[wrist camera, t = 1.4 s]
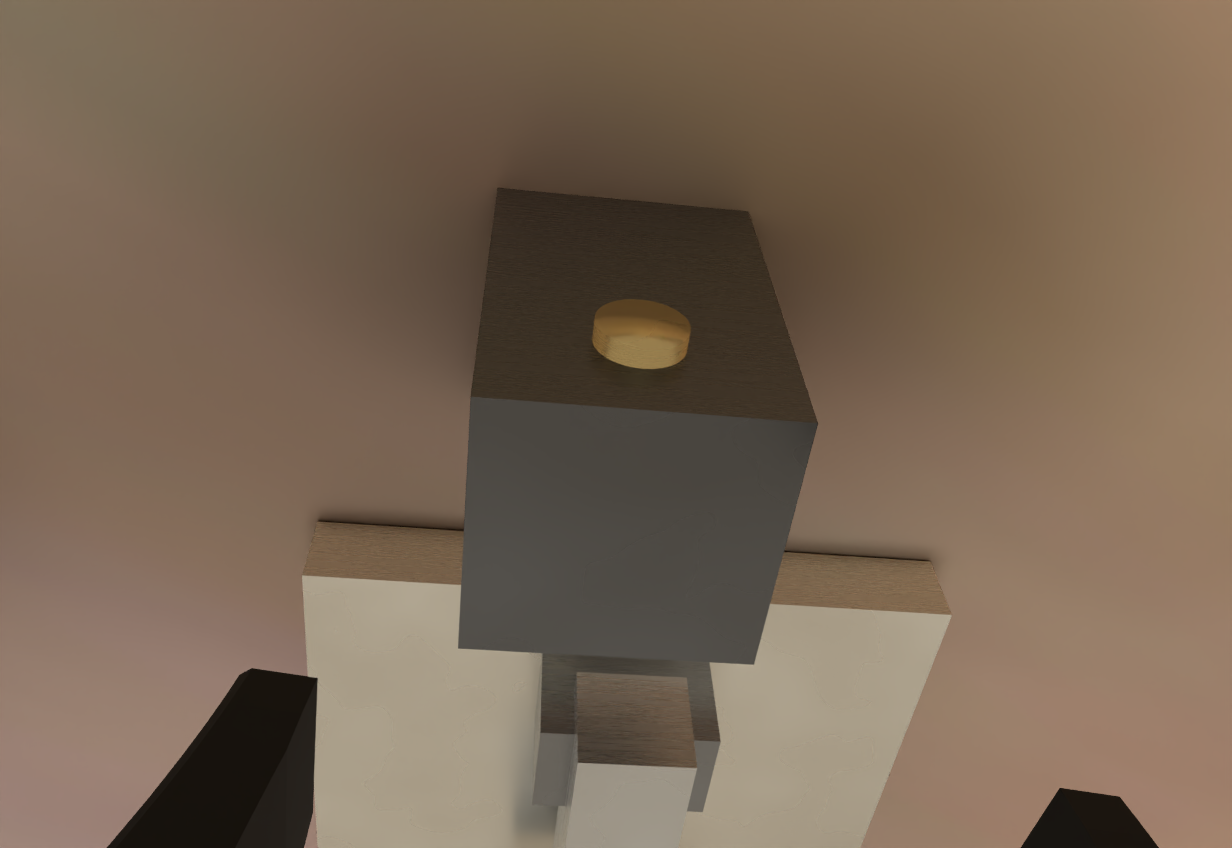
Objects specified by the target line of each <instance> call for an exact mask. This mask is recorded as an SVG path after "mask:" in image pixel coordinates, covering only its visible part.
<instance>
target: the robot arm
mask: <svg viewBox="0 0 1232 848" xmlns="http://www.w3.org/2000/svg"><path fill="white" fill-rule="evenodd" d="M317 684H318V678H314V677H307V676H300V675H294V674H287V673H280V672H273V671H267V670H260V669H253V668H252V669H250V670H248V671H246V672H244V673H242V674H240V675H239V677H238V678H237V680H236V681H235V683H234V684H233V686H232V687H231V689H230V690H229V692H228V693H227V695H226V696H225V698H224V699H223V700H222V702H221V703H220V705H219V706H218V708H217V709H216V710H215V712H214V713H213V715H212V716H211V717H210V719H209V720H208V722H207V723H206V724H205V726H204V727H203V729H202V730H201V731H200V733H199V734H198V735H197V737H196V738H195V739H194V741H193V742H192V743H191V745H190V746H189V747H188V749H187V750H186V751H185V753H184V754H183V755H182V757H181V758H180V759H179V760H178V762H177V763H176V764H175V765H174V767H173V768H172V769H171V771H170V772H169V773H168V774H167V776H166V777H165V778H164V779H163V781H162V782H161V783H160V784H159V786H158V787H157V788H156V790H155V791H154V792H153V793H152V795H151V796H150V797H149V798H148V800H147V801H146V802H145V803H144V804H143V806H142V807H141V808H140V809H139V810H138V811H137V813H136V814H135V815H134V816H133V817H132V819H131V820H130V821H129V822H128V823H127V824H126V826H125V827H124V828H123V829H122V830H121V832H120V833H119V834H118V835H117V836H116V838H115V839H114V840H113V841H112V842H111V843H110V845H109V846H108V847H107V848H304V845H305V841H306V837H307V833H308V829H309V825H310V821H311V818H312V814H313V792H314V765H315V738H316V711H317ZM1021 848H1159V847H1158V846H1157V845H1156V843H1155V842H1154V841H1153V839H1152V838H1151V837H1150V835H1149V834H1148V833H1147V832H1146V830H1145V829H1144V828H1143V826H1142V825H1141V824H1140V822H1139V821H1138V820H1137V818H1136V817H1135V816H1134V815H1133V813H1132V812H1131V811H1130V809H1129V808H1128V807H1127V806H1126V804H1125V803H1124V802H1123V800H1122V799H1121V798H1120V797H1118V796H1111V795H1104V794H1097V793H1091V792H1084V791H1077V790H1070V789H1064V788H1060V789H1059V790H1058V792H1057V793H1056V795H1055V796H1054V798H1053V799H1052V801H1051V802H1050V804H1049V805H1048V807H1047V808H1046V810H1045V811H1044V813H1043V815H1042V816H1041V818H1040V819H1039V821H1038V822H1037V824H1036V825H1035V827H1034V828H1033V830H1032V831H1031V833H1030V834H1029V836H1028V837H1027V839H1026V841H1025V842H1024V844H1023V845H1022V847H1021Z"/></svg>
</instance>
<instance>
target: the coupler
mask: <svg viewBox="0 0 1232 848" xmlns="http://www.w3.org/2000/svg"><path fill="white" fill-rule="evenodd" d="M817 425H818V422H817V419H816V416H815V413H814V410H813V407H812V404H811V401H810V398H809V395H808V391H807V388H806V385H805V382H804V379H803V376H802V373H801V370H800V367H799V364H798V361H797V358H796V355H795V352H794V349H793V346H792V343H791V340H790V337H789V334H788V331H787V328H786V325H785V322H784V319H783V316H782V313H781V310H780V307H779V304H778V301H777V298H776V294H775V291H774V288H773V285H772V282H771V279H770V276H769V273H768V270H767V267H766V264H765V261H764V258H763V255H762V252H761V249H760V246H759V243H758V240H757V237H756V234H755V231H754V228H753V225H752V222H751V219H750V216H749V213H748V212H746V211H736V210H725V209H715V208H704V207H694V206H683V205H673V204H662V203H651V202H641V201H630V200H620V199H609V198H599V197H588V196H578V195H567V194H557V193H546V192H536V191H525V190H515V189H504V188H498V189H497V197H496V204H495V212H494V220H493V228H492V235H491V243H490V251H489V259H488V266H487V274H486V282H485V290H484V298H483V305H482V313H481V321H480V329H479V336H478V344H477V352H476V360H475V367H474V375H473V383H472V391H471V401H470V421H469V440H468V460H467V479H466V499H465V519H464V538H463V558H462V578H461V597H460V617H459V636H458V649H475V650H493V651H511V652H530V653H548V654H566V655H585V656H603V657H621V658H639V659H658V660H676V661H694V662H713V663H731V664H749V665H754V663H755V659H756V655H757V651H758V648H759V644H760V640H761V636H762V633H763V629H764V625H765V621H766V617H767V614H768V610H769V606H770V602H771V599H772V595H773V591H774V587H775V584H776V580H777V576H778V572H779V568H780V565H781V561H782V557H783V553H784V550H785V546H786V542H787V538H788V534H789V531H790V527H791V523H792V519H793V516H794V512H795V508H796V504H797V500H798V497H799V493H800V489H801V485H802V482H803V478H804V474H805V470H806V467H807V463H808V459H809V455H810V451H811V448H812V444H813V440H814V436H815V433H816V429H817Z"/></svg>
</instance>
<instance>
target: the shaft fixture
mask: <svg viewBox="0 0 1232 848" xmlns="http://www.w3.org/2000/svg"><path fill="white" fill-rule="evenodd" d="M463 538H464V531H455V530H440V529H424V528H409V527H394V526H378V525H363V524H348V523H333V522H317V526H316V529H315V532H314V536H313V539H312V543H311V546H310V550H309V553H308V557H307V560H306V564H305V567H304V571H303V574H302V583H303V600H304V618H305V635H306V652H307V670H308V677H314V678H318V684H317V711H316V738H315V765H314V791H315V809H316V826H317V844H318V848H860V847H861V845H862V842H863V839H864V837H865V834H866V832H867V829H868V827H869V824H870V822H871V819H872V817H873V814H874V812H875V809H876V806H877V804H878V801H879V799H880V796H881V794H882V791H883V789H884V786H885V784H886V781H887V779H888V776H889V774H890V771H891V768H892V766H893V763H894V761H895V758H896V756H897V753H898V751H899V748H900V746H901V743H902V741H903V738H904V735H905V733H906V730H907V728H908V725H909V723H910V720H911V718H912V715H913V713H914V710H915V708H916V705H917V702H918V700H919V697H920V695H921V692H922V690H923V687H924V685H925V682H926V680H927V677H928V675H929V672H930V670H931V667H932V664H933V662H934V659H935V657H936V654H937V652H938V649H939V647H940V644H941V642H942V639H943V637H944V634H945V631H946V629H947V626H948V624H949V621H950V619H951V616H952V614H951V611H950V609H949V606H948V604H947V601H946V599H945V596H944V594H943V591H942V589H941V586H940V584H939V581H938V579H937V576H936V574H935V571H934V569H933V566H932V564H931V562H929V561H914V560H898V559H883V558H868V557H853V556H837V555H822V554H807V553H791V552H784V553H783V557H782V561H781V565H780V568H779V572H778V576H777V580H776V584H775V587H774V591H773V595H772V599H771V602H770V606H769V610H768V614H767V617H766V621H765V625H764V629H763V633H762V636H761V640H760V644H759V648H758V651H757V655H756V659H755V663H754V665H749V664H731V663H713V662H694V661H676V660H658V659H639V658H621V657H603V656H585V655H566V654H548V653H530V652H511V651H493V650H475V649H458V636H459V617H460V597H461V578H462V558H463Z"/></svg>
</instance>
